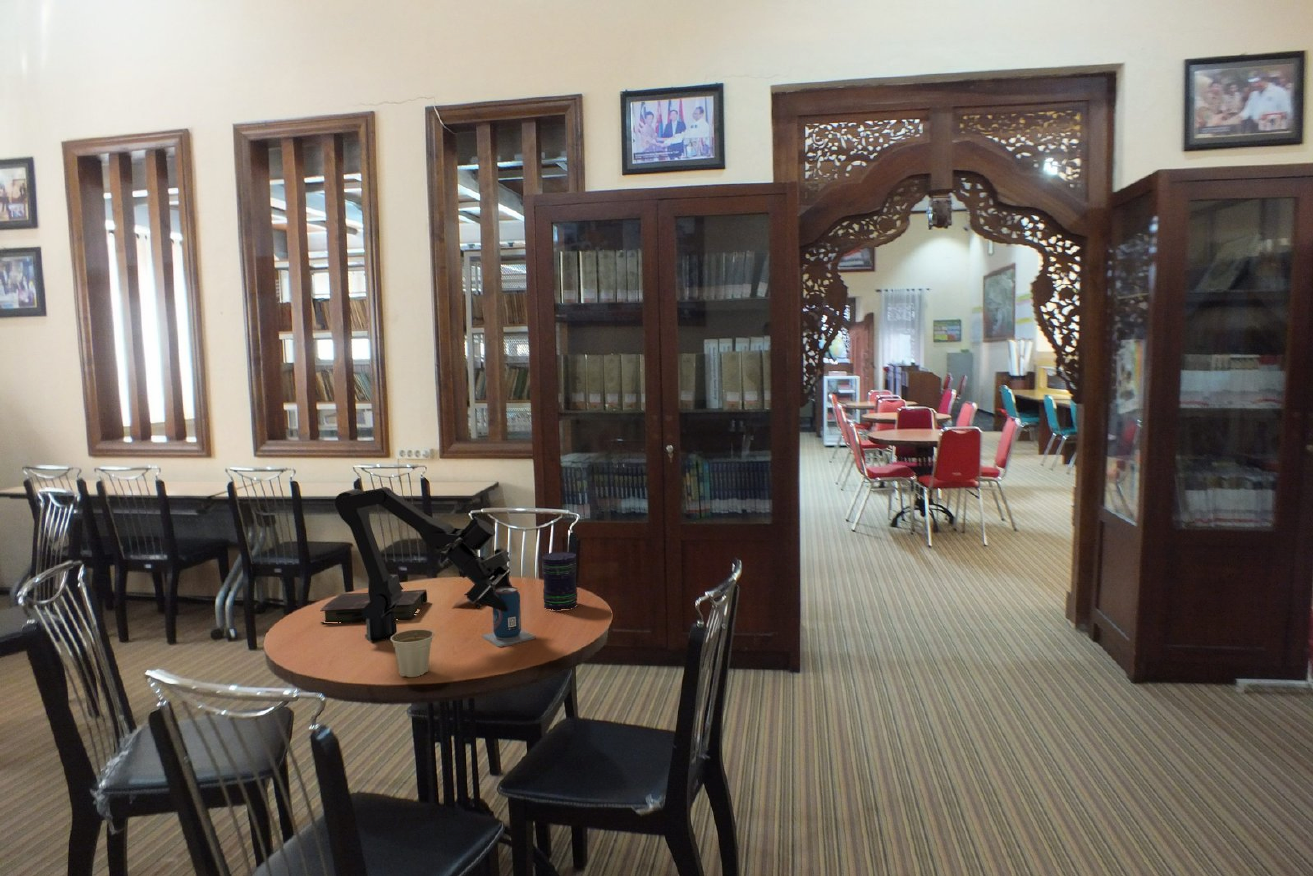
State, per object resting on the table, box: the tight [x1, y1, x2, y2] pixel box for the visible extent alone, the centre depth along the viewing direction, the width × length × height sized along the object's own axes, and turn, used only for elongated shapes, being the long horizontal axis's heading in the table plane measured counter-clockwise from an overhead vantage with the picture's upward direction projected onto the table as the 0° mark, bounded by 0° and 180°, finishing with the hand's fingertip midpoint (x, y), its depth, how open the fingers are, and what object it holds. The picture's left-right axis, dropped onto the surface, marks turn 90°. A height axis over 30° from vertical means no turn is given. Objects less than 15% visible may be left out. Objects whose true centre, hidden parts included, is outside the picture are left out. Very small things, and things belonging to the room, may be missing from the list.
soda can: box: [492, 586, 522, 639], centre depth 195 cm, size 7×7×12 cm
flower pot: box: [390, 628, 435, 678], centre depth 173 cm, size 9×9×9 cm
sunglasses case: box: [451, 590, 482, 610], centre depth 231 cm, size 18×7×7 cm, turn 176°
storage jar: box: [541, 551, 578, 610], centre depth 221 cm, size 10×10×15 cm
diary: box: [319, 589, 428, 624], centre depth 220 cm, size 19×25×5 cm
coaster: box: [481, 628, 536, 648], centre depth 195 cm, size 10×10×1 cm
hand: (512, 605), depth 195 cm, fingers open, 9 cm apart
